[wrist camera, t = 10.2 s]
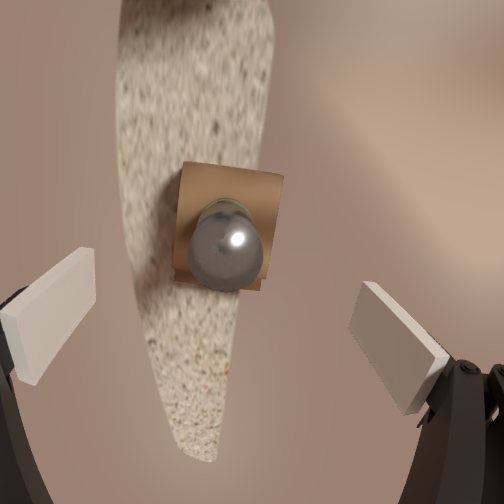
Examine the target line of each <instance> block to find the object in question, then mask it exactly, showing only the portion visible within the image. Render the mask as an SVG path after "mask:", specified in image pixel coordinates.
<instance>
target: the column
mask: <svg viewBox="0 0 504 504" xmlns="http://www.w3.org/2000/svg"><path fill="white" fill-rule="evenodd" d="M263 257H264V256H263V247H262V244H261V241H260V239H259V236H258V234H257V231H256V229H255V226H254V222H253V219H252V216H251V214H250V212H249V211H248V209H247V208H246V207H245V206H244V205H243V204H242V203H241V202H239V201H237V200H235V199H232V198H219V199H216V200H214V201H212V202H211V203H210V204H208V205H207V206H206V207H205V209H204V210H203V211H202V213H201V215H200V217H199V220H198V224H197V227H196V229H195V231H194V233H193V236H192V238H191V240H190V243H189V246H188V251H187V260H188V265H189V268H190V270H191V272H192V274H193V275H194V277H195V278H196V279H197V280H198V281H199V282H200V283H201V284H203V285H204V286H206V287H208V288H210V289H212V290H216V291H221V292H229V291H235V290H238V289H241V288H243V287H245V286H247V285H248V284H249V283H251V282H252V281H253V280H254V279H255V278H256V276H257V275H258V273H259V272H260V269H261V267H262V263H263Z"/></svg>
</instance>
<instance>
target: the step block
mask: <svg viewBox="0 0 504 504" xmlns="http://www.w3.org/2000/svg"><path fill="white" fill-rule="evenodd" d="M283 179H284V176H283V175H279V174H275V173H269V172H263V171H257V170H250V169H243V168H236V167H229V166H222V165H214V164H206V163H197V162H183V167H182V174H181V182H180V190H179V199H178V208H177V217H176V227H175V238H174V250H173V263H172V268H175V276H174V281H179V282H187V283H195V284H201V283H200V282H199V281H198V280H197V279H196V278H195V277H194V275H193V274H192V272H191V270H190V268H189V265H188V260H187V251H188V246H189V243H190V240H191V238H192V236H193V233H194V231H195V229H196V227H197V224H198V220H199V217H200V215H201V213H202V211H203V210H204V209H205V207H206V206H207V205H208V204H210V203H211V202H212V201H214V200H216V199H219V198H232V199H235V200H237V201H239V202H241V203H242V204H243V205H244V206H245V207H246V208H247V209H248V211H249V212H250V214H251V216H252V219H253V222H254V226H255V229H256V231H257V234H258V236H259V239H260V241H261V244H262V247H263V256H264V257H263V263H262V267H261V269H260V272H259V273H258V275H257V276H256V278H255V279H254V280H253V281H252V282H251V283H249V284H248V285H247V286H245V287H243V288H241V289H246V290H256V291H260V286H261V280H262V279H266V276H267V271H268V265H269V260H270V254H271V248H272V243H273V237H274V232H275V226H276V220H277V214H278V209H279V203H280V197H281V191H282V185H283Z"/></svg>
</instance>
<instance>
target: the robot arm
mask: <svg viewBox="0 0 504 504" xmlns="http://www.w3.org/2000/svg"><path fill="white" fill-rule="evenodd" d="M94 270H95V269H94V249H92V248H85V247H80V248H78V249H77V250H75V251H74V252H73V253H72V254H70V255H69V256H67V257H66V258H65V259H63V260H62V261H61V262H59V263H58V264H57V265H55V266H54V267H53V268H51V269H50V270H49V271H48V272H46V273H45V274H44V275H42V276H41V277H40V278H39V279H37V280H36V281H35V282H34V283H32V284H31V285H30V286H27V287H24V288H22V289H19V290H18V291H17V292H15V293H14V294H13V295H12V296H11V297H9V298H8V299H7V300H6V302H4V303H2V304H1V305H0V504H53V501H52V499H51V497H50V495H49V493H48V491H47V489H46V486H45V484H44V482H43V480H42V477H41V475H40V472H39V470H38V467H37V465H36V462H35V460H34V457H33V454H32V451H31V449H30V446H29V443H28V440H27V437H26V433H25V430H24V427H23V423H22V420H21V416H20V413H19V409H18V405H17V401H16V397H15V393H14V388H13V383H12V380H11V377H10V374H9V373H10V372H11V371H12V369H13V368H15V371H16V374H17V376H18V379H19V380H20V381H23V382H26V383H29V384H31V385H34V386H35V385H36V384H37V382H38V381H39V379H40V378H41V376H42V375H43V373H44V372H45V370H46V369H47V367H48V366H49V365H50V363H51V362H52V360H53V359H54V357H55V356H56V354H57V353H58V352H59V350H60V349H61V347H62V346H63V344H64V343H65V342H66V340H67V339H68V338H69V336H70V335H71V333H72V332H73V331H74V329H75V328H76V327H77V325H78V324H79V323H80V321H81V320H82V318H83V317H84V316H85V314H86V313H87V312H88V311H89V309H90V308H91V307H92V306H93V304H94V303H95V302H96V291H95V271H94ZM348 329H349V331H350V332H351V334H352V335H353V337H354V338H355V340H356V341H357V343H358V344H359V346H360V347H361V349H362V350H363V352H364V354H365V355H366V357H367V358H368V360H369V361H370V363H371V364H372V366H373V368H374V369H375V371H376V372H377V374H378V375H379V377H380V378H381V380H382V382H383V383H384V385H385V386H386V388H387V390H388V391H389V393H390V394H391V396H392V398H393V399H394V401H395V403H396V404H397V405H398V407H399V409H400V411H401V412H402V414H403V415H409V414H414V413H418V412H419V410H420V409H421V407H422V406H423V404H424V403H425V401H426V402H427V404H428V405H429V408H428V410H427V412H426V413H425V415H424V416H423V418H422V419H421V421H420V422H419V424H418V425H417V428H419V427H420V425H422V424H423V426H422V430H421V434H420V438H419V442H418V445H417V449H416V452H415V456H414V460H413V462H412V466H411V469H410V472H409V475H408V478H407V481H406V484H405V487H404V489H403V493H402V495H401V498H400V500H399V503H398V504H504V365H501V364H496V365H494V366H493V368H492V369H491V371H490V373H489V374H482V373H481V370H480V369H479V368H478V367H477V366H476V365H475V364H473V363H471V362H469V361H466V360H457V361H456V360H455V359H454V358H453V357H452V356H451V355H450V354H449V353H448V352H447V351H446V350H445V349H444V348H443V347H442V346H440V344H439V343H438V342H437V341H435V339H434V338H433V337H432V336H431V335H430V334H429V333H428V332H426V331H425V330H424V329H423V328H422V327H421V326H420V325H419V324H418V323H417V322H416V321H415V320H414V319H413V318H412V317H411V316H410V315H409V314H408V313H407V312H406V311H405V310H404V309H403V308H402V307H401V306H400V305H398V303H396V302H395V301H394V300H393V299H392V298H391V297H390V296H389V295H388V294H387V293H386V292H385V291H384V290H383V289H382V288H381V287H380V286H378V285H377V284H376V283H375V282H366V281H363V282H362V285H361V289H360V292H359V296H358V299H357V302H356V305H355V308H354V311H353V314H352V318H351V321H350V324H349V327H348ZM498 407H499V414H498V416H497V417H496V419H495V420H494V421H493V420H492V415H493V414H494V413H495V411H496V410H497V408H498Z"/></svg>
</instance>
